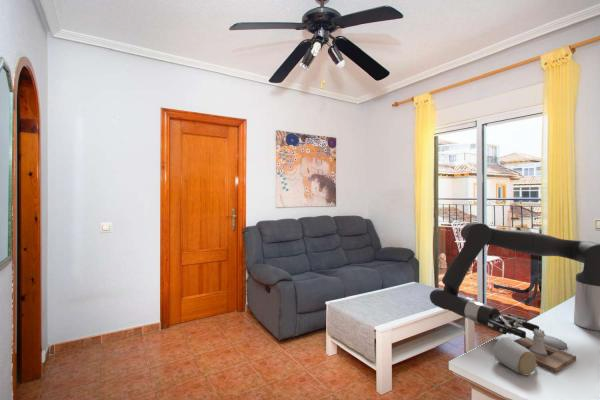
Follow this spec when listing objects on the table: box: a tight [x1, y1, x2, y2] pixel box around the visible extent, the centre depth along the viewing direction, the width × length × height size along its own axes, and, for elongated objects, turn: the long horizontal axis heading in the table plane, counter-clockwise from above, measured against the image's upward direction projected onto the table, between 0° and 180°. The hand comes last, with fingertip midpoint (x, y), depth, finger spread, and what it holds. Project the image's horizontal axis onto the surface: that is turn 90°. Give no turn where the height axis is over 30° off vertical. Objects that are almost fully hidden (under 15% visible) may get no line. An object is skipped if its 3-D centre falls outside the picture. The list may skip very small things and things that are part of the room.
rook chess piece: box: [529, 328, 548, 358], centre depth 95 cm, size 4×4×8 cm
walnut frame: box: [513, 336, 577, 374], centre depth 95 cm, size 14×14×1 cm
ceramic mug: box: [493, 336, 538, 376], centre depth 88 cm, size 11×8×8 cm
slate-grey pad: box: [532, 334, 568, 351], centre depth 103 cm, size 9×9×1 cm
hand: (532, 332), depth 96 cm, fingers open, 8 cm apart
